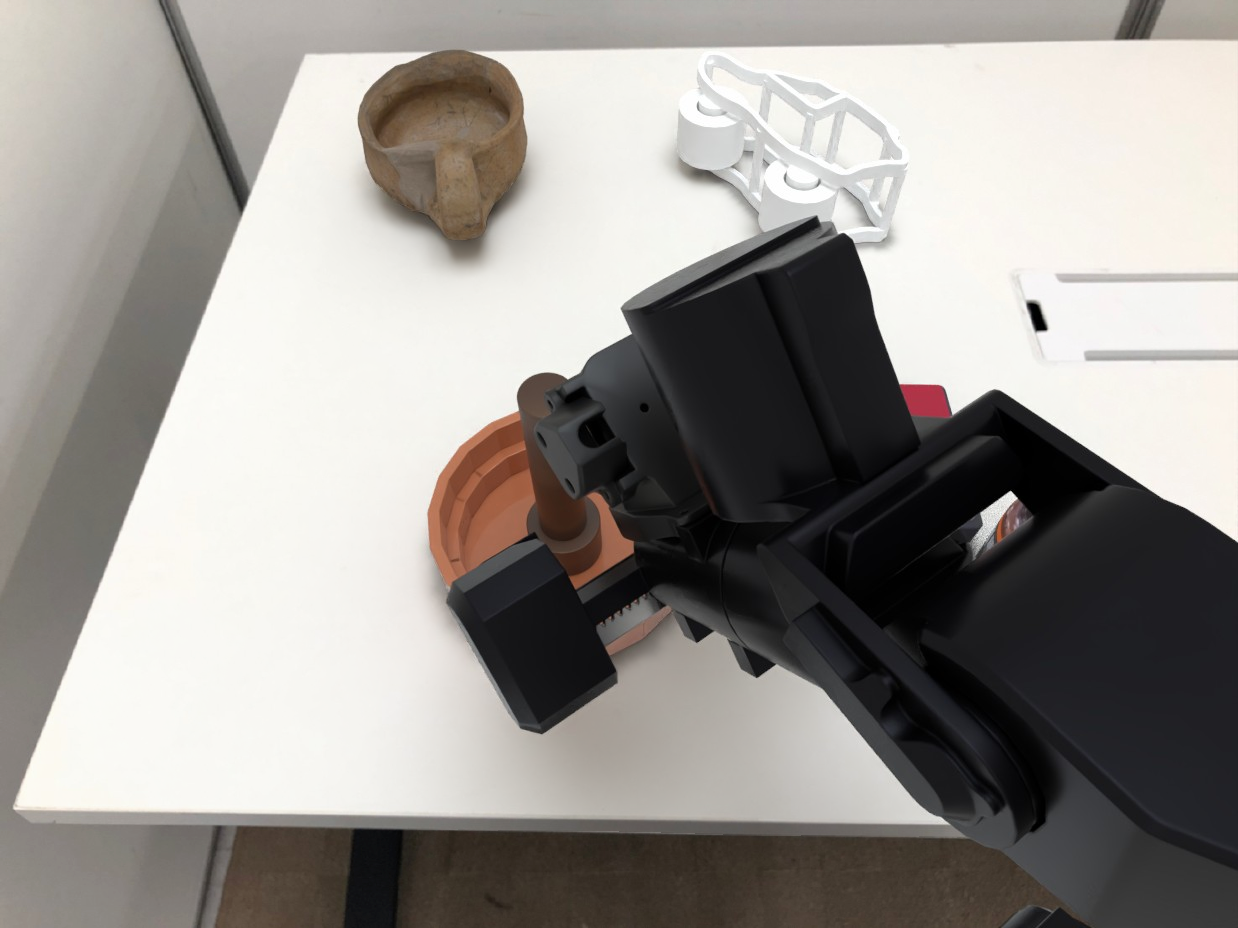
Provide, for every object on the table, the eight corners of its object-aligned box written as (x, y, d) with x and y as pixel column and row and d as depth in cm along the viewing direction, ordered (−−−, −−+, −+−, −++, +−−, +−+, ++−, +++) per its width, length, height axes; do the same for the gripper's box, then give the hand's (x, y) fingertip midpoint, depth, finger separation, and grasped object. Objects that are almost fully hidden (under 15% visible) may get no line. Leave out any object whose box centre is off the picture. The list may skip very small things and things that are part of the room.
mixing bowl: (715, 642, 50) (723, 607, 46) (452, 688, 49) (435, 655, 45) (663, 433, 59) (665, 387, 55) (437, 467, 58) (422, 422, 54)
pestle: (607, 570, 53) (598, 423, 40) (535, 582, 52) (504, 438, 40) (596, 509, 55) (584, 353, 42) (527, 520, 55) (495, 366, 42)
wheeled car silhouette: (652, 150, 76) (654, 72, 70) (751, 107, 79) (761, 29, 73) (800, 284, 67) (817, 208, 60) (905, 229, 70) (931, 151, 64)
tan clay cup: (597, 214, 69) (557, 118, 61) (448, 304, 69) (387, 222, 61) (511, 95, 78) (466, -3, 69) (379, 176, 78) (317, 88, 70)
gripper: (927, 215, 28) (697, 270, 42) (413, 500, 22) (347, 453, 36) (1026, 509, 31) (780, 468, 45) (595, 828, 25) (469, 666, 39)
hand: (609, 506), depth 41 cm, fingers open, 9 cm apart
